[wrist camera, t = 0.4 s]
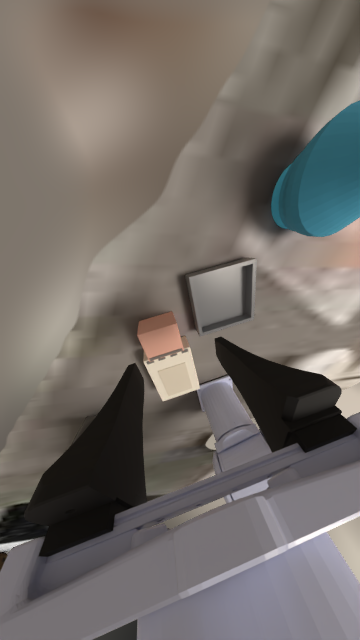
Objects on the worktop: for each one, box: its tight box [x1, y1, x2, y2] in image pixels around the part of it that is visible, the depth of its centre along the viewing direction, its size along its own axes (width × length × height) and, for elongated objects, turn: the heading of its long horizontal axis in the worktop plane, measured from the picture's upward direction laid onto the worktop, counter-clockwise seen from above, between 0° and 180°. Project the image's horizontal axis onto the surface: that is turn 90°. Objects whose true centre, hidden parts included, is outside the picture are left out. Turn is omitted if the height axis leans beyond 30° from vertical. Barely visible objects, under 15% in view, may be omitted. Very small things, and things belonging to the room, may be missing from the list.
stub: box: [137, 312, 184, 362], centre depth 20 cm, size 4×5×4 cm
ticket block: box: [143, 336, 200, 401], centre depth 23 cm, size 10×7×3 cm
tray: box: [185, 258, 257, 336], centre depth 20 cm, size 9×9×2 cm
